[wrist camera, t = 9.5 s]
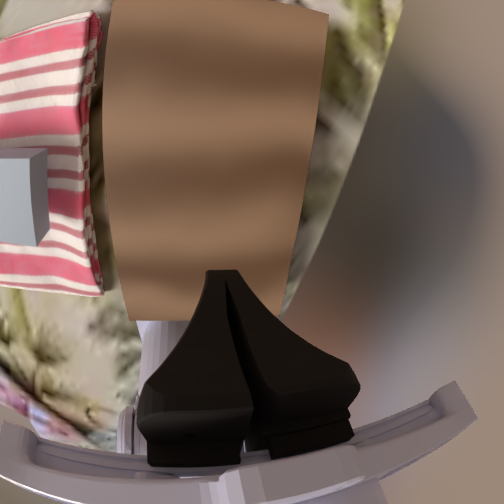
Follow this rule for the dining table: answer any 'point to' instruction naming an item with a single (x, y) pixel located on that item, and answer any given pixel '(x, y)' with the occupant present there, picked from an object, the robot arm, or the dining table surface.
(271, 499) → the robot arm
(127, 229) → the board
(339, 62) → the dining table surface
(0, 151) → the blue-grey tile
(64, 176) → the dish towel
